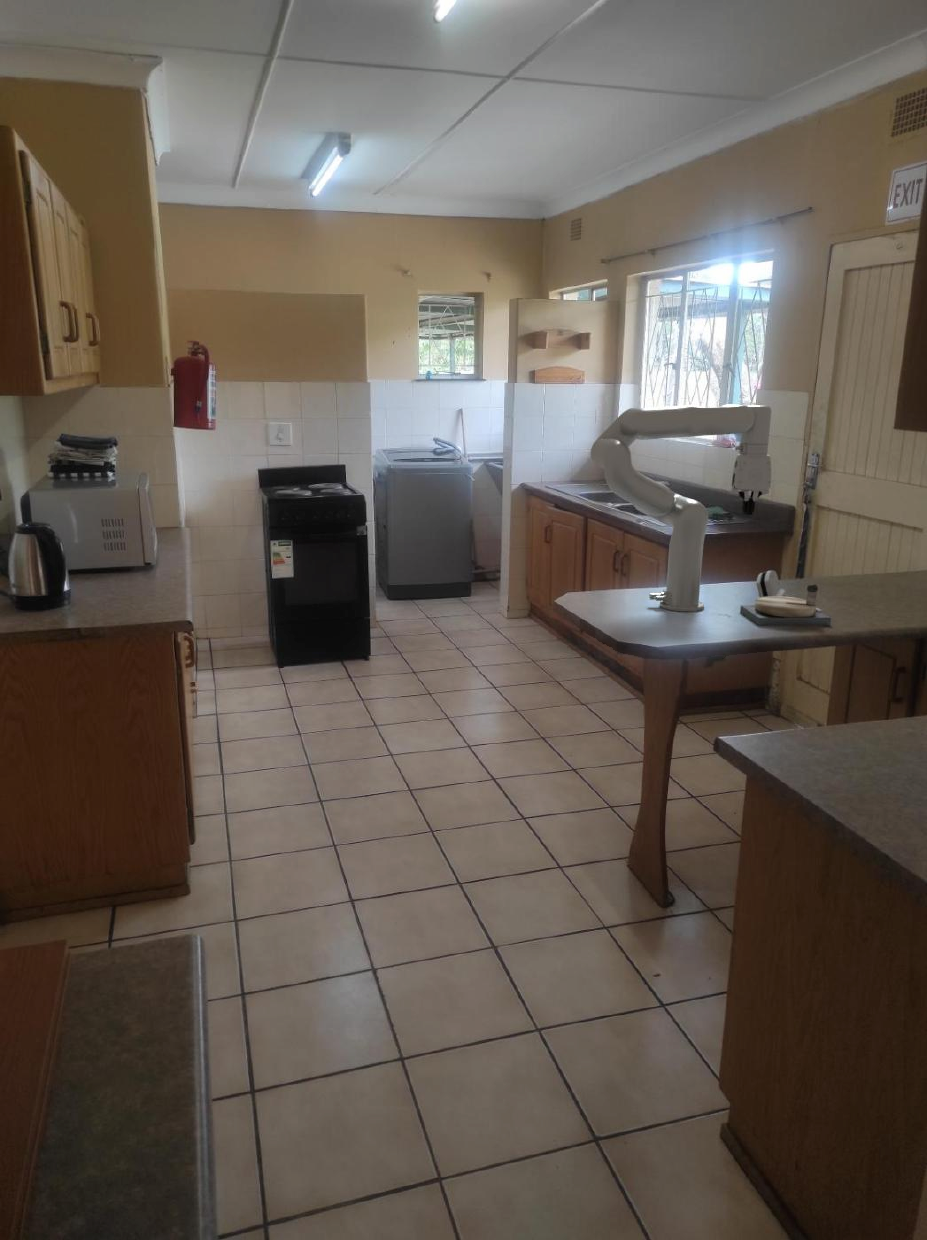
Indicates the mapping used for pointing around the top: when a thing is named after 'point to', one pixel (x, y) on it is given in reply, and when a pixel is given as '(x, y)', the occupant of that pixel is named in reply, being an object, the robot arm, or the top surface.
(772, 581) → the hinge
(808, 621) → the wheel base
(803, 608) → the wheel
